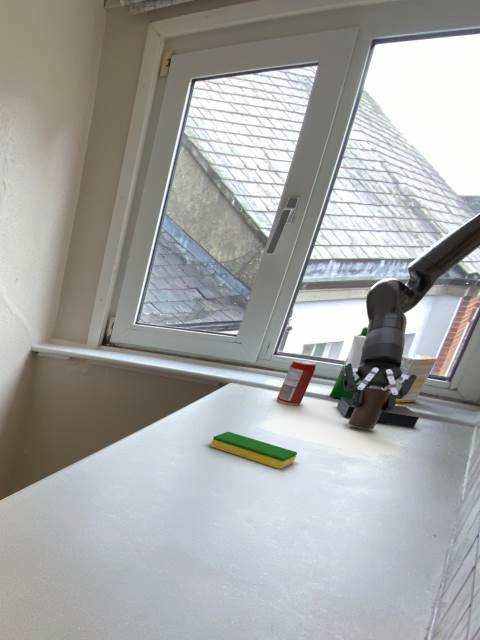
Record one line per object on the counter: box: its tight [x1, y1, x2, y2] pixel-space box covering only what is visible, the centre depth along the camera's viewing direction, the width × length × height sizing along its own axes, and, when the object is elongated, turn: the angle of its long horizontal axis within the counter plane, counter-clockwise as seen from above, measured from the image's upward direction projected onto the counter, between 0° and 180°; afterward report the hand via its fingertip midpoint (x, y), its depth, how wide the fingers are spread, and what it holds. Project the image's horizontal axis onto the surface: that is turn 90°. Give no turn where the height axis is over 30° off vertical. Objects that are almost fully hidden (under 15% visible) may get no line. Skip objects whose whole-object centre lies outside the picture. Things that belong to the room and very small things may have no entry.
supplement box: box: [395, 354, 438, 404], centre depth 160 cm, size 8×5×13 cm, turn 100°
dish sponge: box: [210, 431, 298, 470], centre depth 119 cm, size 7×14×2 cm, turn 34°
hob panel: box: [336, 397, 420, 429], centre depth 146 cm, size 14×10×3 cm
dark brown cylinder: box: [347, 388, 391, 430], centre depth 136 cm, size 5×5×9 cm
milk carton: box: [329, 326, 370, 400], centre depth 158 cm, size 9×9×20 cm
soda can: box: [276, 359, 317, 406], centre depth 154 cm, size 6×6×12 cm
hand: (372, 407), depth 134 cm, fingers closed on dark brown cylinder, 5 cm apart
